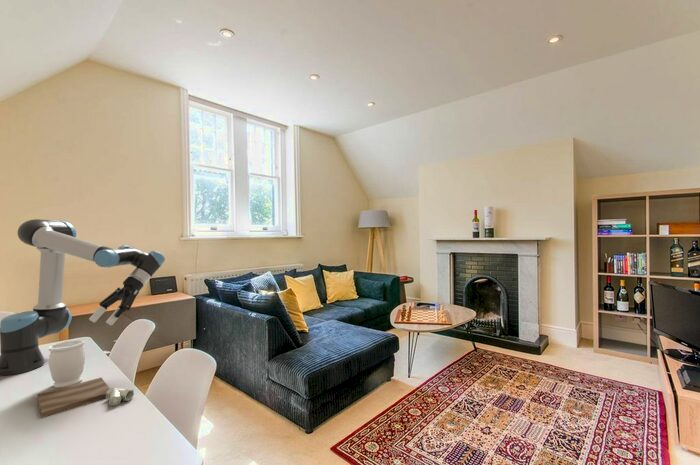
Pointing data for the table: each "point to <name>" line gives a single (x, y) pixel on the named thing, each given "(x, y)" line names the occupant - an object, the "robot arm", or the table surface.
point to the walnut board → (71, 396)
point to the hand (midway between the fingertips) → (99, 322)
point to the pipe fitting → (118, 395)
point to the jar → (67, 362)
